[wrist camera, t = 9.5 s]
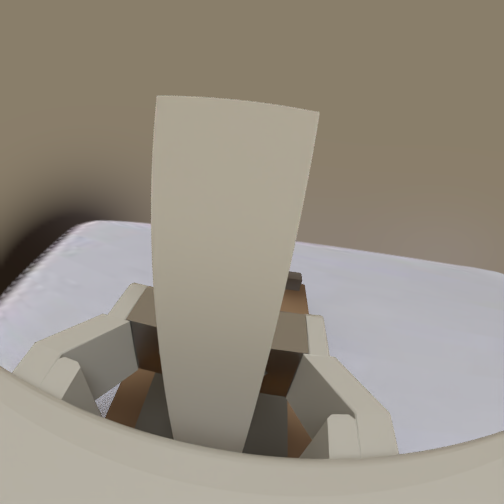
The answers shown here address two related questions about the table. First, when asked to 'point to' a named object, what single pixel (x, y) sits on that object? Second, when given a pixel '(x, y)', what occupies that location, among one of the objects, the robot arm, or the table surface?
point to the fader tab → (222, 265)
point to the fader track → (137, 384)
